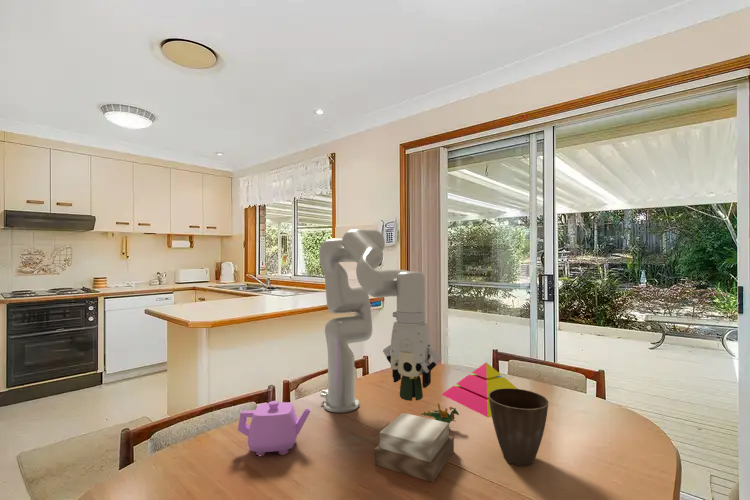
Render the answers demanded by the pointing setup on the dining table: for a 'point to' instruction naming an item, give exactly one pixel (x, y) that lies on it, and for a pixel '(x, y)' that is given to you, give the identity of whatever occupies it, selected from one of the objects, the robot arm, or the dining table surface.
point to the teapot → (272, 427)
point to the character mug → (409, 376)
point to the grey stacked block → (415, 446)
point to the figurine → (442, 414)
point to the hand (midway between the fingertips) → (411, 383)
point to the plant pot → (518, 423)
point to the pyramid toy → (478, 389)
